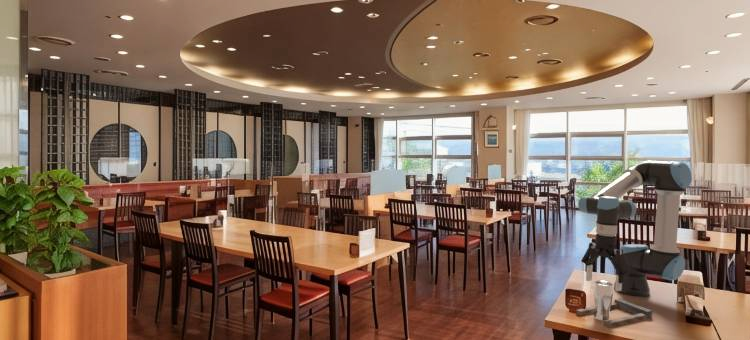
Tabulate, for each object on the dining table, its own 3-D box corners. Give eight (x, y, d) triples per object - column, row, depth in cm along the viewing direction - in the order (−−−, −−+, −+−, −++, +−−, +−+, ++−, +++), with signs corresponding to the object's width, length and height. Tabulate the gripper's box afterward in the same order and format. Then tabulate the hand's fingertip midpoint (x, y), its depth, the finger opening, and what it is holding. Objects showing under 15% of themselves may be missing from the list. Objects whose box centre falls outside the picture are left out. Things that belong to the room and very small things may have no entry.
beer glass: (613, 322, 176) (615, 286, 175) (595, 321, 177) (597, 285, 176) (608, 316, 183) (610, 281, 182) (590, 314, 184) (592, 279, 183)
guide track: (618, 305, 195) (619, 298, 195) (651, 317, 182) (652, 310, 181) (576, 313, 184) (576, 307, 184) (608, 328, 171) (608, 320, 170)
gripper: (574, 229, 187) (571, 277, 189) (628, 241, 165) (625, 296, 166) (586, 228, 191) (583, 275, 192) (641, 240, 168) (638, 294, 169)
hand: (603, 285), depth 179 cm, fingers open, 13 cm apart
